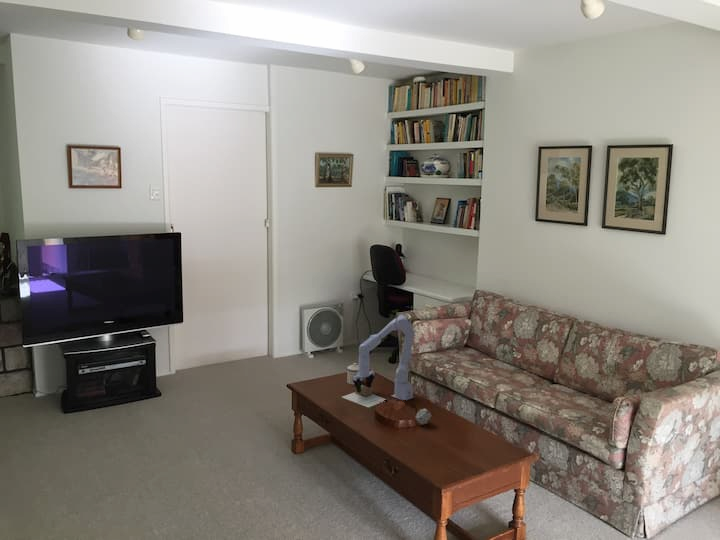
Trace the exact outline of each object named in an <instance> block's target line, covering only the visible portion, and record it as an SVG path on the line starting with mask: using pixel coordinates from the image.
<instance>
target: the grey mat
mask: <svg viewBox="0 0 720 540" xmlns="http://www.w3.org/2000/svg"><path fill="white" fill-rule="evenodd" d="M342 398H343V399H345V400H347V401H349V402H353V403H355V404H358V405H362V406H363V407H366V408H371V407H373V406H376V405H378V404H381V403H383V401H384V400H386V398H385V397H384V398H383V397H381V396H379V395H376V394H373V393H372V395H371V396H368V397H363V396H360V395H358V394H355V391H354V392H352V393H349V394H346V395H343V396H341V399H342ZM380 402H381V403H380ZM384 402H385V401H384Z"/></svg>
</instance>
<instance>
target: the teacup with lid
mask: <svg viewBox="0 0 720 540" xmlns="http://www.w3.org/2000/svg"><path fill="white" fill-rule="evenodd" d="M346 371H347V373H346V374H347V375H346V377H347V379H346V382H347V384H350V385H353V386H355V384H354V382H353V376H355V375H357V374H358V372H359V364H358V363H357V362H353V364H350V365H348V366H347V368H346ZM360 380H361V381H363V378H361V379H360Z"/></svg>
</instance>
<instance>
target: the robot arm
mask: <svg viewBox="0 0 720 540" xmlns="http://www.w3.org/2000/svg"><path fill="white" fill-rule="evenodd" d="M396 317H397V318H396ZM396 317H395V318H394V319H392V320H391V321H390V322H389V323H388V324H386V325H385V327H383V328H382V329H381V330H380V331H379V332H378V333H376V334H370V336H369V338H367V339H366V340H365V341H363V342H362V343H361V344H360V345H359V347H358V365H359V372H358V374H357V375H355V376H353V382H354V384H355V385H354V387H356V390H357V392H359V393H360V392H361V385H363V380H362V381H361V380H360V379H361V378H362V379H363V378H365V382H366V383H365V387H368V388H371V387H372V384H373V381H374V380H375V378H376V377H375V371H374V370H370V353H371V352H370V351H372V350H374V349H375V348H376V347H378V345H380V344H381V342H382V339H383V338H385V337H386V336H387V335H388V334H390V333H391V332H392V331H398V330H399V331H401V332H402V333H403V334H404V335H405V336H404V341H403V345H402V350H401V355H400V361H399V364H398V367H397V368H396V370H395V378H394V394H391V395H390V396H391V397H393V398H395V399H399V400H402V401H403V400H406V401H408V400H411V399H413V398H414V395H413V394H414V385H413V384H412V383H411V382H410V381H409V379H408V374H409V373H408V369H409V363H410V357H411V353H412V348H413V343H414V338H415V330H414V327H413V325H412V322H411V320H410V318H409V317H408V316H407V315H405V314H399V315H398V316H396ZM371 389H372V388H371Z"/></svg>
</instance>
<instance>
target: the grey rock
mask: <svg viewBox="0 0 720 540" xmlns="http://www.w3.org/2000/svg"><path fill="white" fill-rule="evenodd" d="M432 416H434V414H432V413H431V412H430V411H429V410H428V408H427V406H425V408H421V409H419V408H417V412H416V414H415V417H413V418H412V419H413V420H416V421H417V422H418V424H419V425H420V427H422V426H423V425H427V424H428V425H430V423H431V420H432V419H431V418H432Z"/></svg>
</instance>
